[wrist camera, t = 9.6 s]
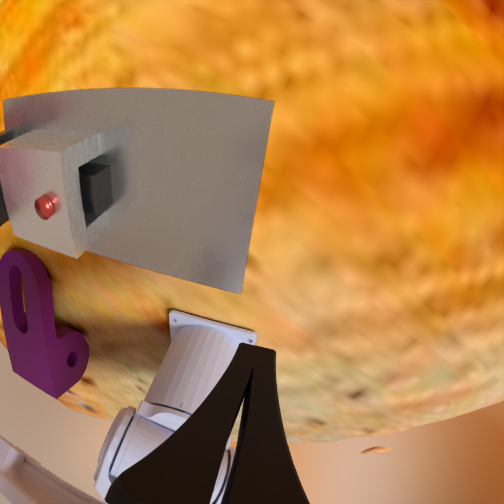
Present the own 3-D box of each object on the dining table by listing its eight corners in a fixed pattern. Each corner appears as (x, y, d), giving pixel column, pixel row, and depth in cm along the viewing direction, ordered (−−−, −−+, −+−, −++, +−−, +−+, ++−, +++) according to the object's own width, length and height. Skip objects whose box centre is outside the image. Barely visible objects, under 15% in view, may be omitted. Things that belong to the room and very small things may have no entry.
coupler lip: (241, 291, 23) (227, 333, 19) (25, 228, 25) (-1, 250, 21) (274, 101, 15) (261, 110, 11) (5, 99, 16) (-31, 112, 13)
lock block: (107, 228, 22) (72, 263, 18) (43, 211, 22) (9, 239, 18) (100, 132, 17) (52, 155, 13) (32, 130, 18) (-11, 150, 14)
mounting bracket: (40, 236, 34) (47, 349, 37) (-5, 244, 25) (12, 371, 28) (86, 248, 32) (91, 371, 36) (38, 259, 24) (56, 399, 27)
